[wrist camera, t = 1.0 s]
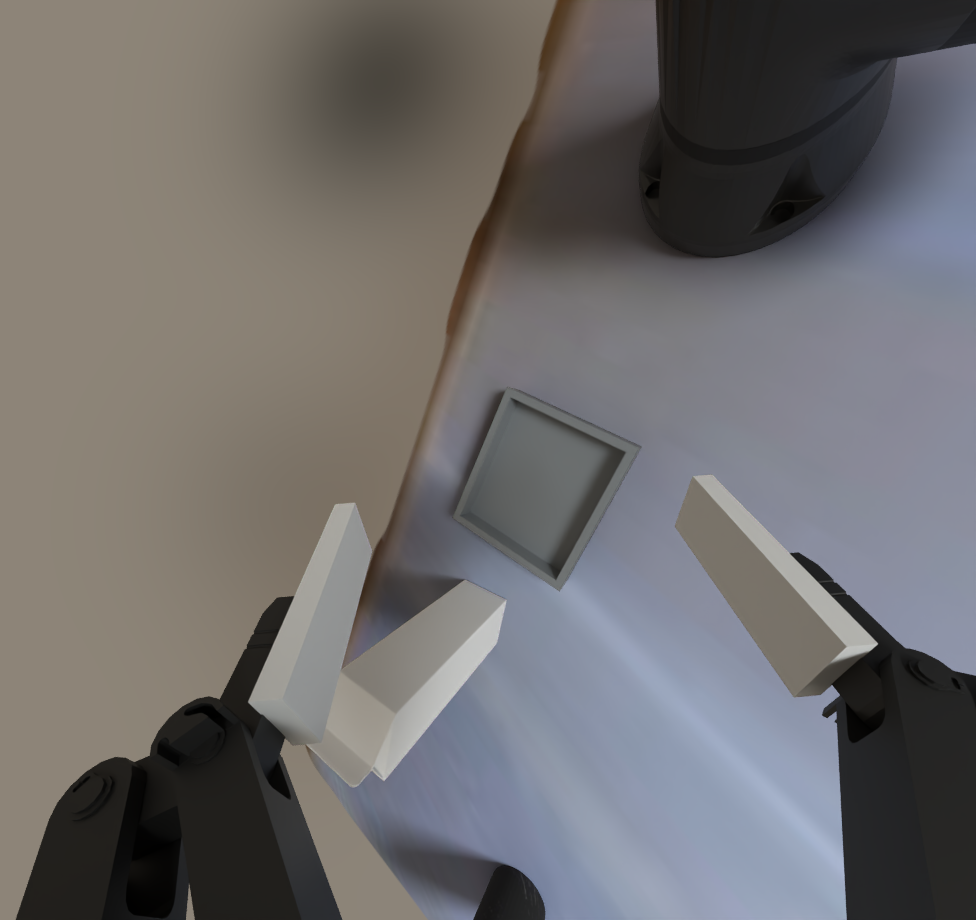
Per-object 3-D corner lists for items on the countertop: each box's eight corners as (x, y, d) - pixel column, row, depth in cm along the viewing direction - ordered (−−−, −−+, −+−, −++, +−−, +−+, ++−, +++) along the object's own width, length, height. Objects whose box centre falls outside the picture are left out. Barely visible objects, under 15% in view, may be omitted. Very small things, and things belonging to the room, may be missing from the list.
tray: (518, 389, 38) (507, 386, 36) (641, 446, 33) (639, 448, 30) (465, 512, 43) (452, 517, 40) (567, 580, 37) (559, 591, 35)
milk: (465, 578, 44) (298, 695, 24) (508, 599, 41) (360, 749, 22) (456, 621, 45) (290, 766, 25) (497, 644, 42) (348, 826, 23)
